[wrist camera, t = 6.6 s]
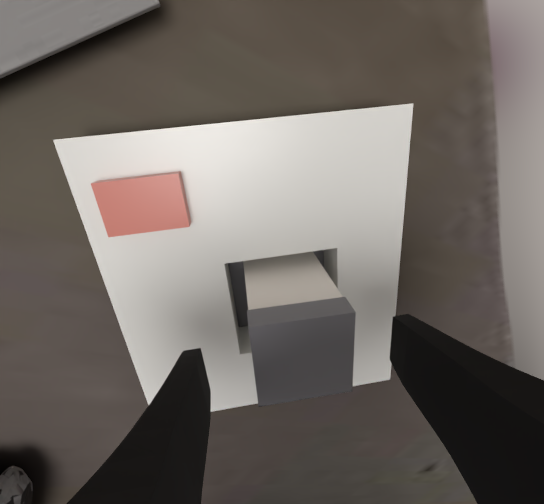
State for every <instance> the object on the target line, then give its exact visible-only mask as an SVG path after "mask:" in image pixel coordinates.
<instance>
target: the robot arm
mask: <svg viewBox="0 0 544 504" xmlns="http://www.w3.org/2000/svg"><path fill="white" fill-rule="evenodd" d="M390 361H391V363H392V365H393V367H394V369H395V371H396V373H397V375H398V377H399V379H400V380H401V382H402V384H403V386H404V387H405V389H406V390H407V392H408V393H409V395H410V396H411V398H412V399H413V400H414V402H415V403H416V405H417V406H418V408H419V409H420V411H421V412H422V414H423V415H424V417H425V418H426V419H427V421H428V422H429V424H430V425H431V427H432V428H433V430H434V431H435V432H436V434H437V435H438V437H439V438H440V440H441V441H442V443H443V444H444V446H445V447H446V449H447V451H448V452H449V454H450V455H451V457H452V459H453V460H454V462H455V464H456V466H457V467H458V469H459V471H460V473H461V474H462V476H463V478H464V480H465V481H466V483H467V485H468V487H469V489H470V490H471V492H472V494H473V496H474V498H475V500H476V502H477V503H478V504H544V381H543V380H541V379H539V378H536V377H534V376H531V375H529V374H527V373H524V372H522V371H519V370H517V369H515V368H512V367H510V366H508V365H506V364H504V363H501V362H499V361H497V360H495V359H493V358H491V357H489V356H487V355H485V354H483V353H481V352H479V351H477V350H475V349H473V348H471V347H469V346H467V345H465V344H463V343H461V342H459V341H457V340H456V339H454V338H452V337H450V336H448V335H446V334H444V333H443V332H441V331H439V330H437V329H435V328H433V327H432V326H430V325H428V324H426V323H424V322H423V321H421V320H419V319H417V318H415V317H413V316H411V315H409V314H406V315H400V316H394V317H393V320H392V333H391V346H390ZM210 413H211V390H210V385H209V381H208V377H207V373H206V368H205V364H204V360H203V356H202V351H201V348H197V349H191V350H185V351H183V352H182V353H181V355H180V356H179V358H178V360H177V362H176V363H175V365H174V367H173V368H172V370H171V372H170V373H169V375H168V377H167V378H166V380H165V381H164V383H163V385H162V386H161V388H160V389H159V391H158V392H157V394H156V395H155V397H154V398H153V400H152V402H151V403H150V404H149V406H148V407H147V409H146V410H145V411H144V413H143V414H142V416H141V417H140V418H139V420H138V421H137V423H136V424H135V425H134V427H133V428H132V429H131V431H130V432H129V433H128V435H127V436H126V437H125V438H124V440H123V441H122V442H121V443H120V445H119V446H118V447H117V448H116V450H115V451H114V452H113V453H112V454H111V456H110V457H109V458H108V459H107V460H106V462H105V463H104V464H103V465H102V466H101V467H100V468H99V469H98V470H97V472H96V473H95V474H94V475H93V476H92V477H91V478H90V479H89V480H88V482H87V483H86V484H85V485H84V486H83V487H82V488H81V489H80V490H79V491H78V492H77V493H76V495H75V496H74V497H73V498H72V499H71V500H70V501H69V502H68V503H67V504H201V495H202V486H203V477H204V469H205V461H206V453H207V444H208V436H209V427H210Z"/></svg>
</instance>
